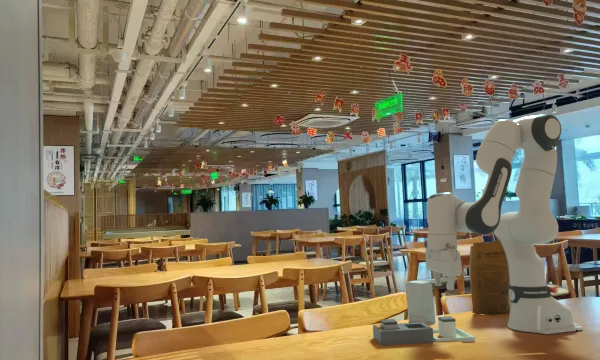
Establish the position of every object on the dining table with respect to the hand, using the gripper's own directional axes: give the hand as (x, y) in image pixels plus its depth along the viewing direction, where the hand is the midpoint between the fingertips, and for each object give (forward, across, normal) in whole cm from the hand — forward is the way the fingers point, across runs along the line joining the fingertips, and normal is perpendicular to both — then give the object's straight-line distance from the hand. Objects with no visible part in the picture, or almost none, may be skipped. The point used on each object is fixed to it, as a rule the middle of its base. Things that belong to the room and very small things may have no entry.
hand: (444, 287), depth 149 cm
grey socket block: (+16, -2, +14) cm, 22 cm away
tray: (+16, 0, 0) cm, 16 cm away
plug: (+15, 0, 0) cm, 15 cm away
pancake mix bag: (+16, +33, -32) cm, 49 cm away
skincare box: (+16, +24, 0) cm, 29 cm away
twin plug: (+15, -2, +18) cm, 24 cm away
